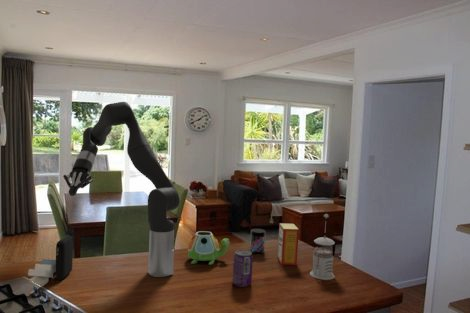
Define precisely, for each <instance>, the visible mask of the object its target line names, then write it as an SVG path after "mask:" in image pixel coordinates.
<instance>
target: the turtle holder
mask: <svg viewBox="0 0 470 313" xmlns="http://www.w3.org/2000/svg"><path fill="white" fill-rule="evenodd" d="M220 244H221V248H220V245H219V242H218V239H217V238H216V236H215V235H214V234H213V233H212V232H211V231H205V230H203V231H202V230H200V231H197V232H195V234H194V235H193V236H192V237H191V238H190V241H189V243H188V246H187V256H188V258H190V259H192V260H191V262H190V264H192V265H195V264H197V263H198V262H199V261H201V262H204V261H205V262H207V261H209V262H208V265H214V264H215V262H216V260H217V259H219V258H220V257H222V256H225V254H227V253H226V252H227V250H228V247H229V246H230V239H229V238H223V239H222V240H221V241H220Z"/></svg>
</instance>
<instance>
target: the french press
mask: <svg viewBox="0 0 470 313" xmlns="http://www.w3.org/2000/svg"><path fill="white" fill-rule="evenodd" d="M323 217H324V218H329V217H330V216H329V214H328V213H325V214H324V215H323ZM326 226H327V222H325V225H324V232H326V231H327V230H326ZM313 242H314V243H315V244H316V245H320V246H324V247H325V246H329V247H330V246H334V245H335V243H336V242H335V241H334V240H333V239H331V238H329V237H327V236H323V237H317V238H316V239H314V240H313ZM333 254H334V252H333V251H332V250H331V249H330V250H329V249H327V248H322V247H319V248H318V246H316V247H314V250H313V253H312V262H313V263H312V270H311V271H310V272H309V275H310V276H311V277H313V278H315V279H318V280H324V281H329V280H333V279H335V275H334V273H333V267H334V266H333V265H334V255H333Z"/></svg>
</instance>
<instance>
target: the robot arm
mask: <svg viewBox="0 0 470 313" xmlns="http://www.w3.org/2000/svg"><path fill="white" fill-rule="evenodd" d="M122 125H126V126H127V129H128V132H129V134H128V140H127V141H128V142H127V147H126V152H127V156H128V157H129V159H130V162H131V163H132V165H133V166H134V168H135V169H136V170H137V171H138V172H139V173H140V174H142V175H143V176H144V177H145V178H147V179H148V180H149V181H150V183H152V185H153V186H154V188H155V189H152V190H150V192H149V194H148V196H147V222H148V224H149V238H148V239H149V241H148V244H149V246H148V269H147V270H148V272H147V273H148V275H149V276H151V277H155V278H164V277H168V276H173V275H174V260H175V259H174V258H175V257H174V256H175V252H174V251H175V250H174V245H175V244H174V240H175V239H174V238H175V222H174V221H173V220H171V219H168V218H167V217H168V215H167V212H169V211H173V210H176V209H178V208H179V205H180V201H181V200H180V195H179V192H178V191H177V189H176V187H175V186H174V184H173V183H172V182H171V180H170V179H169V177H168V176H167V175H166V172H165V170H164V169H163V166H162V165H161V163H160V162H159V161H158V158H157V156H156V155H155V153H154V151H153V149H152V147H151V145H150V144H149V142H148V141H147V138H146V137H145V135H144V132H143V131H142V128H141V127H140V125H139V123H138V120H137V118H136V115H135V113H134V110H133V108H132V107H131V105H130V104H129V102H126V101H119V102H112V103H108V104H106V105H104V107H103V108H102V110H101V113H100V115H99V118H98V121H97V122H96V124H95V125H94V126H93V127H92V126H88V127H86V128H85V129H84V131H83V133H82V134H83V135H82V146H81V149H80V151H79V154H78V155H77V157H76V160H75V161H74V164H73V165H72V168H71V171H70V172H69V174H67V175H66V174H64V175H62V176H63V178H64V180H65V183H66V184H67V186H68V188H69V190H68V194H69V196H70V197H74V196H76V195H77V193H78V190H79V189H84V188H86V187H87V186H88V185H89V184H91V183H92V182H93V181H94V178H93V176H91V175H90V174H91V171H92V169H93V166H94V164H95V161H96V158H97V157H96V156H97V154H98V152H99V151H98V150H99V148H98V147H101V146H104V145H105V144H106V141H107V138H108V137H107V136H109V135H110V133H111V132H112V130H113V129H112V128H113V127H115V126H122ZM70 180H71V182H70Z"/></svg>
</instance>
